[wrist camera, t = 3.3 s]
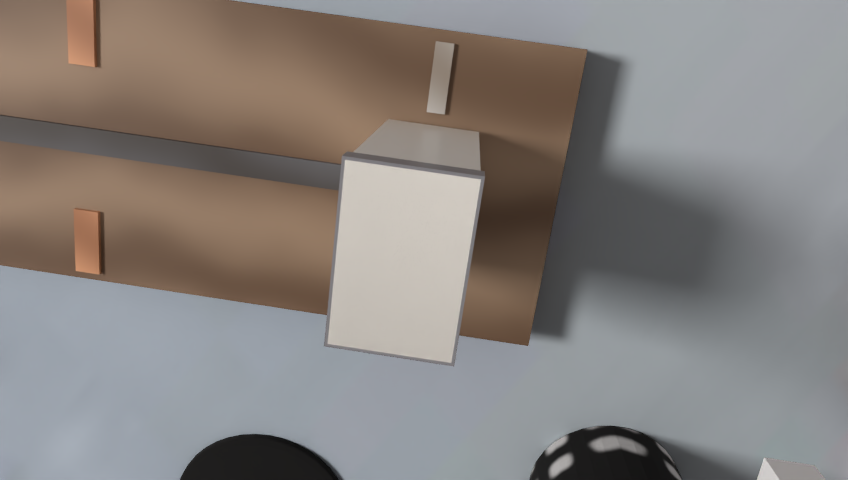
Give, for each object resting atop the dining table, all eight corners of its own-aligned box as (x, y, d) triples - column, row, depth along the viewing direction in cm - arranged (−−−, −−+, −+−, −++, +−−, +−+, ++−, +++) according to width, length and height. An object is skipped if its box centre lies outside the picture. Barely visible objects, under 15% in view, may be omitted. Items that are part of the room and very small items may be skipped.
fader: (460, 262, 30) (453, 366, 21) (371, 249, 30) (324, 346, 21) (481, 130, 28) (485, 176, 19) (386, 116, 28) (341, 155, 19)
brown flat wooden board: (525, 328, 34) (528, 347, 32) (-72, 237, 35) (-107, 250, 33) (580, 48, 29) (588, 49, 27) (-102, -46, 30) (-144, -52, 28)
